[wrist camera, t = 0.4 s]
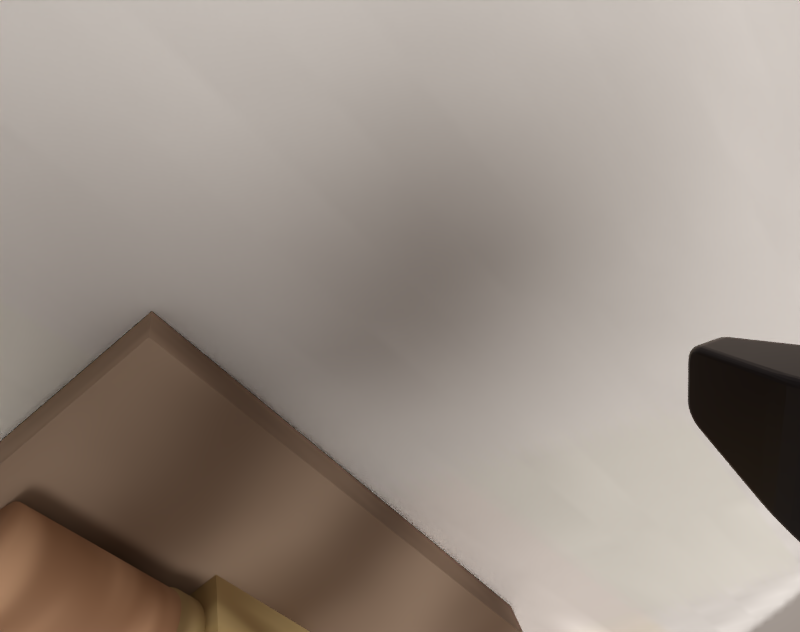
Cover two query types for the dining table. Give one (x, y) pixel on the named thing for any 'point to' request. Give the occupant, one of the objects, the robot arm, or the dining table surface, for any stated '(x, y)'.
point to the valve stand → (204, 515)
